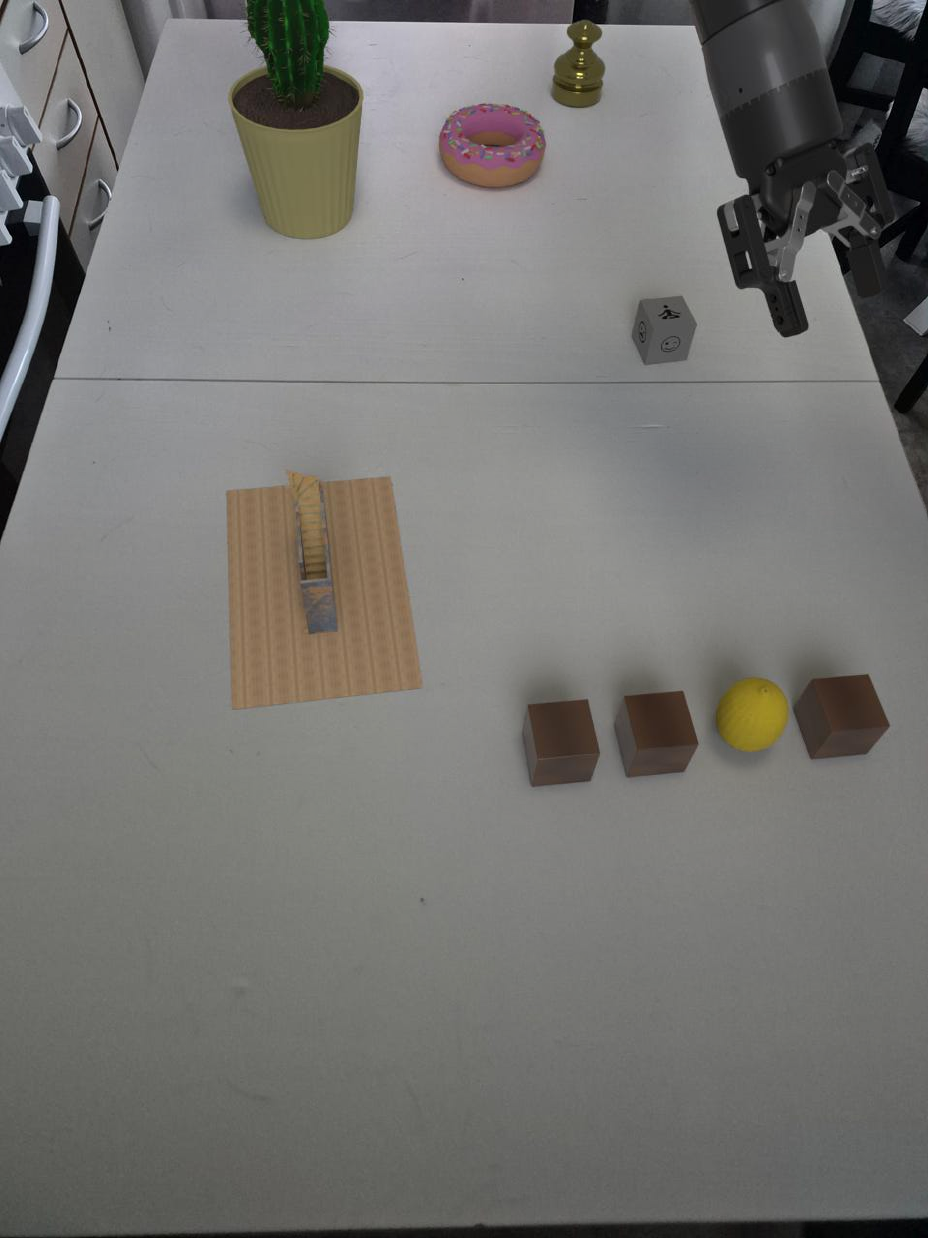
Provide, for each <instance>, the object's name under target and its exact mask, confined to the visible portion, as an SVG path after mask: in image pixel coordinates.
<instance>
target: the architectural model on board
mask: <svg viewBox="0 0 928 1238" xmlns="http://www.w3.org/2000/svg"><path fill="white" fill-rule="evenodd" d="M284 472H285V474H288V485H279V486H267V487H256V488H244V489H234V490H226V523H227V524H226V525H227V566H228V605H229V606H228V607H229V638H230V639H229V651H230V689H231V691H230V693H231V710H241V709H251V708H257V707H259V708H260V707H266V706H276V705H277V706H278V705H283V704H293V703H301V702H302V703H303V702H310V701H319V700H327V699H328V700H329V699H338V698H346V697H355V696H361V695H362V696H363V695H372V694H380V693H388V692H397V691H406V690H407V691H408V690H415V689H423V688H424V686H423V680H422V673H421V666H420V659H419V653H418V647H417V646H418V645H417V641H416V634H415V633H416V632H415V627H414V620H413V613H412V607H411V601H410V595H409V588H408V587H409V586H408V581H407V575H406V567H405V561H404V556H403V549H402V542H401V535H400V530H399V522H398V516H397V509H396V502H395V495H394V488H393V483H392V477H391V476H382V477H381V476H380V477H371V478H370V477H369V478H359V479H348V480H347V479H346V480H335V481H323V480H319V477H318V476H315V475H309V474H303V473H299V472H295V471H291V470H288V469H287V470H284Z"/></svg>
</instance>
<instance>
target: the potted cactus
mask: <svg viewBox="0 0 928 1238" xmlns="http://www.w3.org/2000/svg"><path fill="white" fill-rule="evenodd" d="M243 1H244V2H246V4H245V5H244V4H241V3H238V6H242V7H243V8H244V10H242V12H243V13H241V14H240V15H239V16H244V15H245V14H246V16H244V18H245V19H244V21H246V22H244V23H243V22H242V21H241V22H240V24H242V25H241V27H244V28H247V29H245V30H243V31H240V32H239V34H240V33H244V32H249V35H250V36H248V37H247V38H248V40H247V41H246V43H245V45H244V47H246V45H247V46H248V45H249V44H250V45H255V48H254V50H253V51H252V53H254V52H255V51H256V54H255V55H258V52H259V51H261V52H262V54H263V55H260V56H258V57H256V59H259V61H262V63H261V64H260V65H262V64H263V63H265V65H264V66H260V67H257V68H256V69H253V70H251V71H249V72H247V73H245V74H243V75H242V76H241V77H240V78H238V79H236V81H235V82H234V83H233V84H232V86H231V87H230V89H229V92H228V100H227V101H228V104H229V106H230V111H231V115H232V118H233V121H234V124H235V127H236V131H237V134H238V137H239V141H240V143H241V147H242V151H243V153H244V156H245V161H246V163H247V166H248V169H249V174H250V177H251V180H252V183H253V186H254V189H255V193H256V196H257V198H258V202H259V206H260V209H261V212H262V215H263V218H264V220H265V222H266V224H267V225H268V226H269V228H271V230H273V231H275V232H277V233H278V234H280V235H283V236H286V237H289V238H294V239H300V240H301V239H303V240H309V239H312V240H313V239H319V238H325V237H327V236H331V235H334V234H335V233H338V232H340V231H341V230H342V229H344V228H345V227H346V226H347V225H348V223H349V222H350V221H351V218H352V216H353V215H352V214H353V211H354V200H355V192H356V191H355V189H356V179H357V168H358V159H359V158H358V157H359V147H360V146H359V145H360V137H361V123H362V115H363V102H364V99H365V98H364V97H365V96H364V90H363V88H362V86H361V84H360V83H359V82H358V81H357V80H356V79H355V78H354V77H353V76H352V75H350V74H349V73H348V72H345V71H343V70H341V69H339V68H336V67H333V66H331V65H326V64H324V62H326V63H328V61H326V60H330V59H331V57H325V56H326V54H325V51H326V52H327V53H329V55H331V56H333V54H332V53H331V52H329V50H330V47H328V46H327V44H329V42H330V40H329V39H330V34H331V35H332V36H334V37H336V38H337V36H336V35H335V34H334V33H333V32H332V31H334V32H337V30H335V29H333V28H334V26H332V25H331V23H330V20H331V19H333V17H335V15H336V14H333V11H332V9H334V8H335V7H334V8H329V9H326V8H325V0H243ZM242 7H240V9H242ZM330 10H331V11H330ZM334 10H335V9H334ZM328 11H330V12H329V13H327V12H328ZM330 14H331V15H330ZM332 14H333V16H332ZM239 16H238V17H239ZM330 27H332V28H330ZM337 33H338V32H337ZM251 40H255V42H251ZM250 42H251V43H250ZM244 47H243V48H244ZM256 49H257V50H256ZM260 58H261V59H260ZM262 58H263V60H262Z"/></svg>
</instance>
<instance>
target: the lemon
mask: <svg viewBox="0 0 928 1238" xmlns="http://www.w3.org/2000/svg"><path fill="white" fill-rule="evenodd" d="M789 711H790V707H789V703H788V699H787V696H786V695H785V693H784V691H783V690H782V689H781V687H780V686H778V684H776V683H774V682H773V681H771V680H769V679H766V678H763V677H755V676H754V677H753V676H752V677H747V678H743V679H741V680H738V681H737V682H735V683H733V685H731V686H730V687H729V688H728V689H726V691H725V692H724V693H723V695H722V696H721V697H720V699H719V701H718V704H717V707H716V710H715V724H716V728H717V731H718V733H719V734H720V737H721V738H722V739H723V740H724V742H725V743H727V744H728V745H729V746H731V747H732V748H734V749H736V750H739V751H741V752H746V753H747V752H748V753H752V752H753V753H755V752H759V751H763V750H765V749H768V747H770V746H772V745H773V744H775V743H776V742H777V741H778V740H779V738H780V737H781V736H782V735H783V734H784V732H785V729H786V727H787V723H788V720H789Z"/></svg>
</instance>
